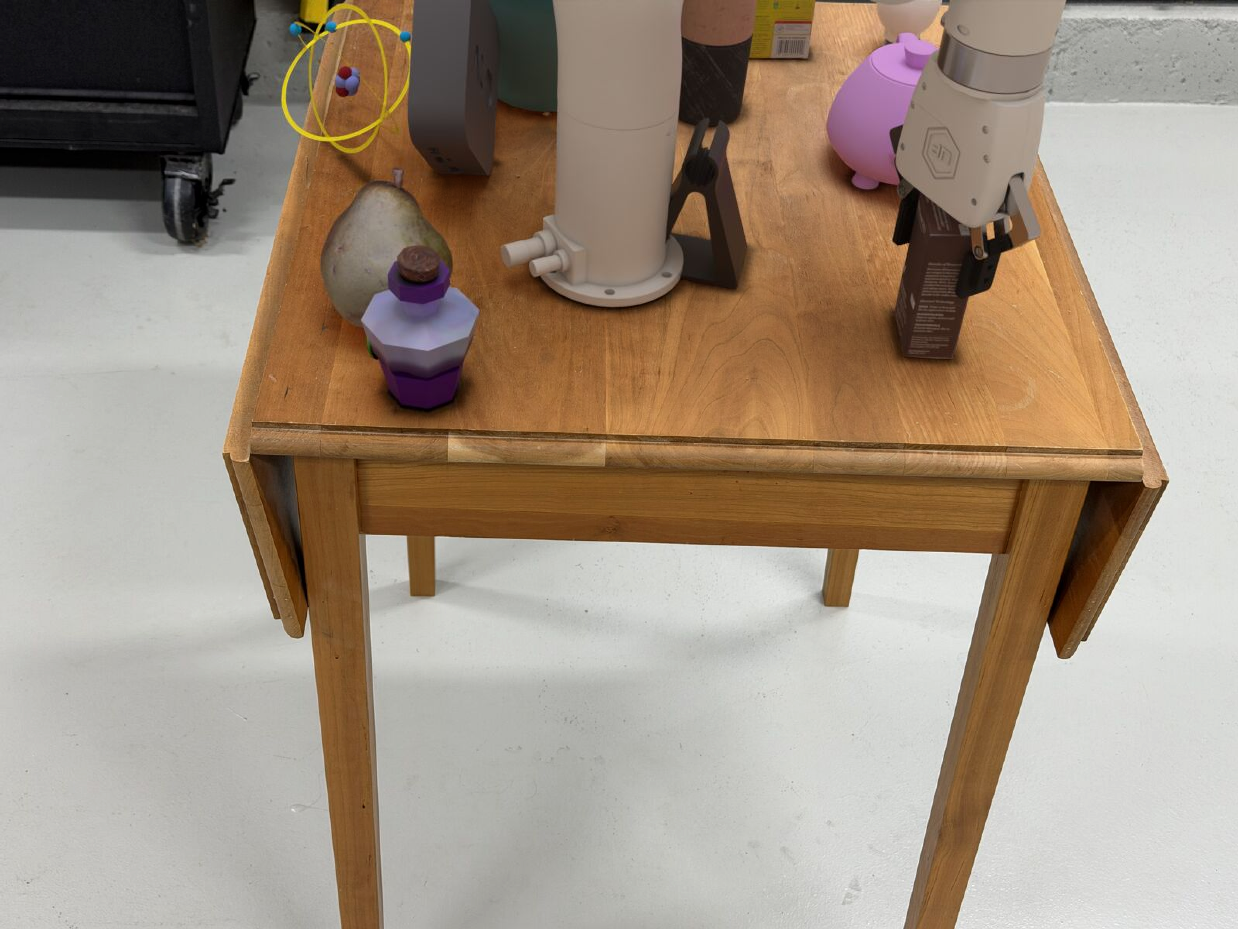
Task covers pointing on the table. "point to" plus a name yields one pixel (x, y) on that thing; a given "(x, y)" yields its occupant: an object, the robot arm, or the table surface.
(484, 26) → the streaming box
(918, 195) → the robot arm
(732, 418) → the table surface
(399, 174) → the fruit
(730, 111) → the travel mug
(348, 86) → the atom model
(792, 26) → the crayon box
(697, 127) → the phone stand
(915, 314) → the box
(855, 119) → the teapot
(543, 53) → the flower pot
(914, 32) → the light bulb
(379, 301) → the potion bottle
